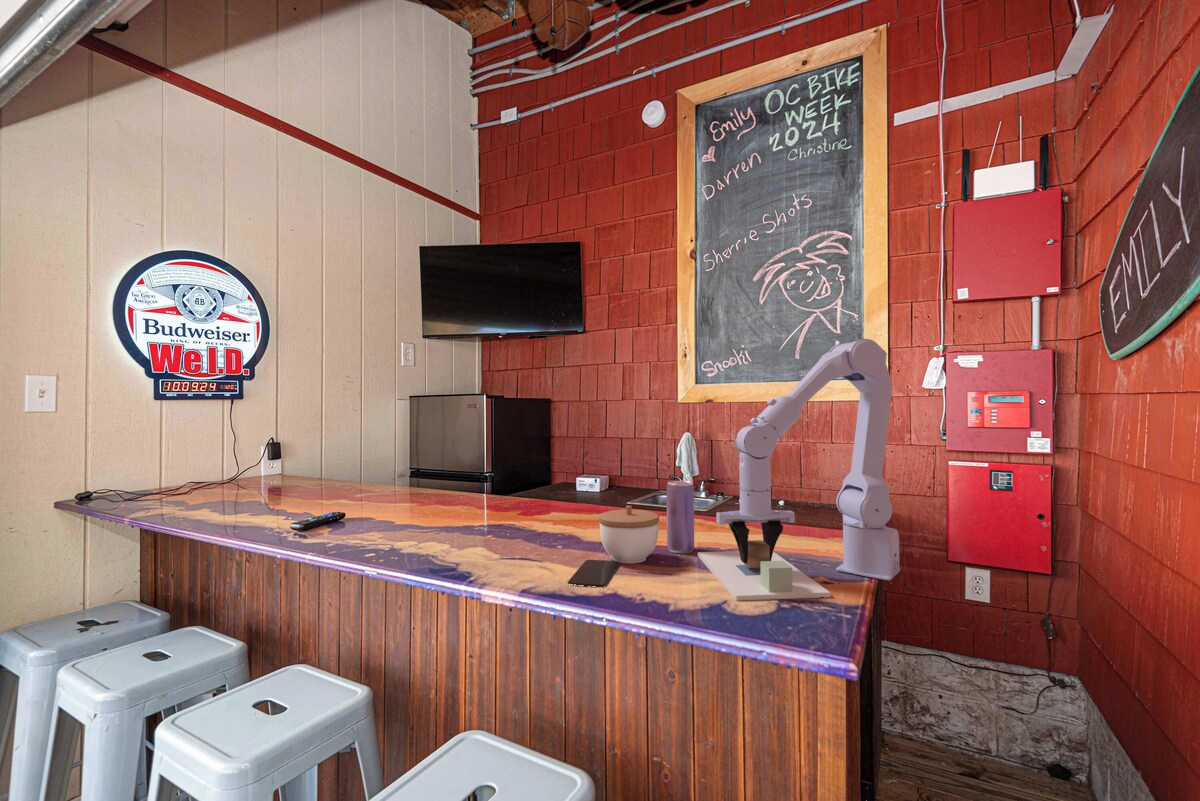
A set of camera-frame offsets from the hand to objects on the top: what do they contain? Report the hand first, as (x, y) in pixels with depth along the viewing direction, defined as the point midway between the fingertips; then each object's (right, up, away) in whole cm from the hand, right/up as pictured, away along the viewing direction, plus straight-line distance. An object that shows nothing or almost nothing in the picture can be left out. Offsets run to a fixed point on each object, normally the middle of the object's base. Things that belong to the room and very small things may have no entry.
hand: (755, 560), depth 104 cm
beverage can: (-12, -3, +17) cm, 21 cm away
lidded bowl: (-23, -3, +11) cm, 26 cm away
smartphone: (-31, -3, +1) cm, 31 cm away
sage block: (+1, -2, -10) cm, 10 cm away
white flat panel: (0, -3, 0) cm, 2 cm away
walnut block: (0, -1, 0) cm, 1 cm away
